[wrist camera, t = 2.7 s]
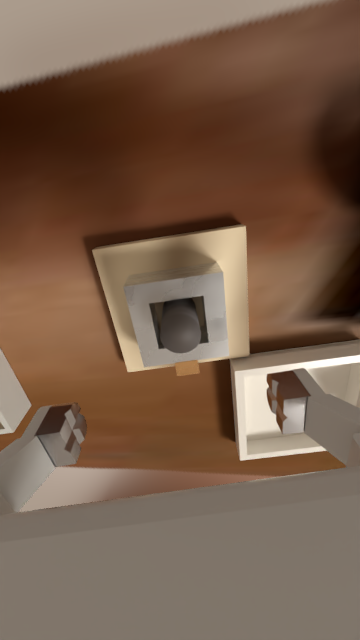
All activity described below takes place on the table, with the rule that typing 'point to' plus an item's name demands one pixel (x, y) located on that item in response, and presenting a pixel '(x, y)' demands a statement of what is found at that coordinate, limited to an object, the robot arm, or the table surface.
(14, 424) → the figure corral
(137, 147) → the table surface
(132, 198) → the table surface
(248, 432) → the tray
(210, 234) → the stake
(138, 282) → the ring
